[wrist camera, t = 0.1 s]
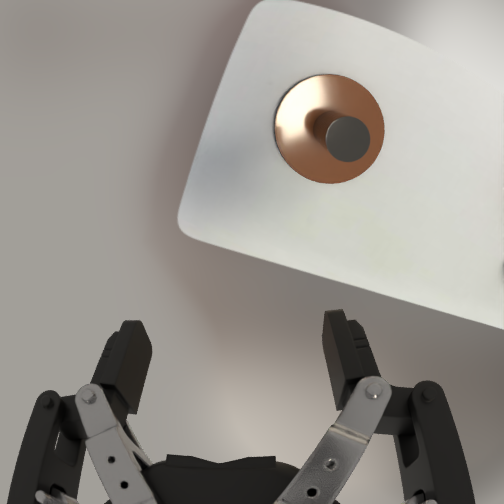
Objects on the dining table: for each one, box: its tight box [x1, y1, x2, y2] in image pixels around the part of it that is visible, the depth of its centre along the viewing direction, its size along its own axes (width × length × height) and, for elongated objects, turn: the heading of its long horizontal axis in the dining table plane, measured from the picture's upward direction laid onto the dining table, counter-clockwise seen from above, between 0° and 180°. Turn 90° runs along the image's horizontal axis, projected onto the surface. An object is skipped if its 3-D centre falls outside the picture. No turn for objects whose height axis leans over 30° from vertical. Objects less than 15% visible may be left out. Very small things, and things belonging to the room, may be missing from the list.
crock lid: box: [275, 74, 384, 184], centre depth 27 cm, size 12×12×7 cm
